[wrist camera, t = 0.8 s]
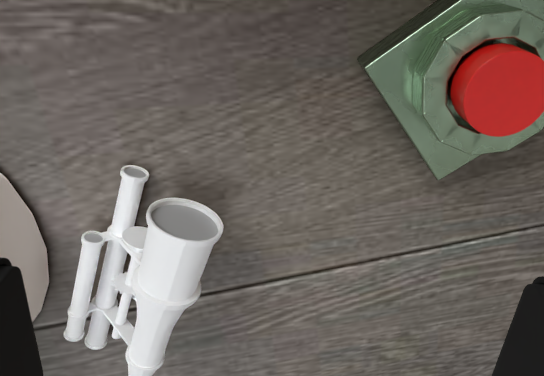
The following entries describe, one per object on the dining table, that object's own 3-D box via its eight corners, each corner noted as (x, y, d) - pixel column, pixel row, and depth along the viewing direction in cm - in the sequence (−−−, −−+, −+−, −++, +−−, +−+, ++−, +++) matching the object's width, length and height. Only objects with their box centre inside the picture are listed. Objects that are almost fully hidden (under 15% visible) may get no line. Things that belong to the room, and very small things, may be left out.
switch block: (510, -52, 24) (553, -51, 21) (569, 76, 27) (616, 97, 24) (356, 58, 26) (370, 77, 23) (426, 165, 29) (448, 196, 26)
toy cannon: (124, 321, 37) (55, 346, 33) (167, 159, 31) (88, 167, 27) (186, 399, 33) (115, 439, 29) (249, 230, 27) (169, 251, 23)
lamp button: (513, 25, 22) (532, 31, 21) (546, 93, 24) (566, 104, 22) (435, 76, 23) (447, 86, 22) (472, 139, 25) (486, 152, 23)
